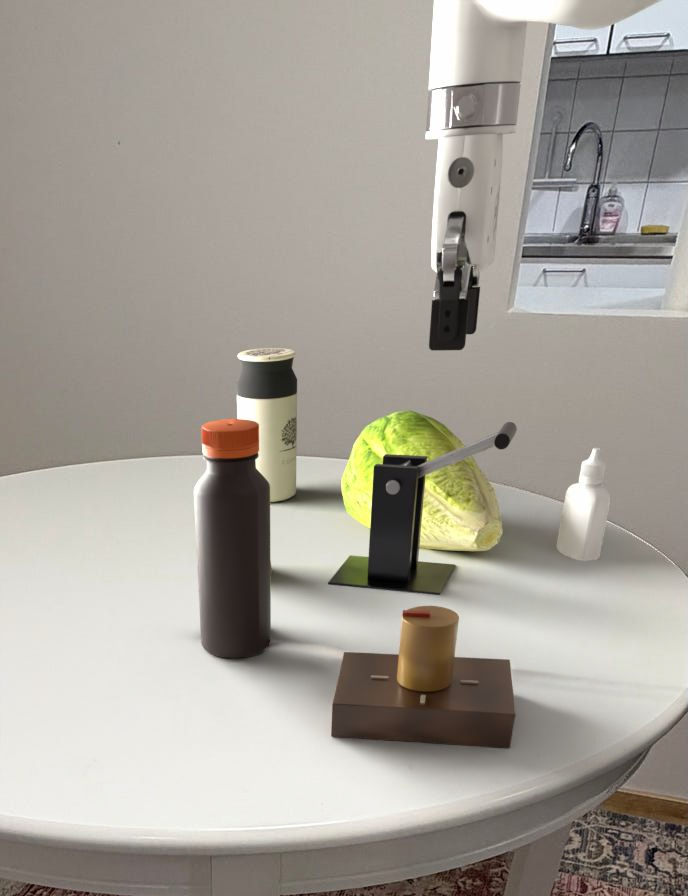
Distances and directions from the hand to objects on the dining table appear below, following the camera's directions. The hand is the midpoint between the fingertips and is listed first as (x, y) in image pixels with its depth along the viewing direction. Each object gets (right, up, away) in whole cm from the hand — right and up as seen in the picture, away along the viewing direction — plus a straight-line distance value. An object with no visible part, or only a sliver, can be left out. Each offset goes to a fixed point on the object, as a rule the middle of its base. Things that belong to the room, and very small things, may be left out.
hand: (453, 341), depth 91 cm
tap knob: (-6, -35, -13) cm, 37 cm away
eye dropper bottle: (+18, -16, +17) cm, 29 cm away
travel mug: (-15, +1, +43) cm, 46 cm away
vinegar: (-21, -29, +2) cm, 36 cm away
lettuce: (+3, -12, +24) cm, 27 cm away
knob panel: (-6, -37, -11) cm, 39 cm away
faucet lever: (+1, -11, +5) cm, 12 cm away
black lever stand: (-3, -19, +13) cm, 24 cm away
